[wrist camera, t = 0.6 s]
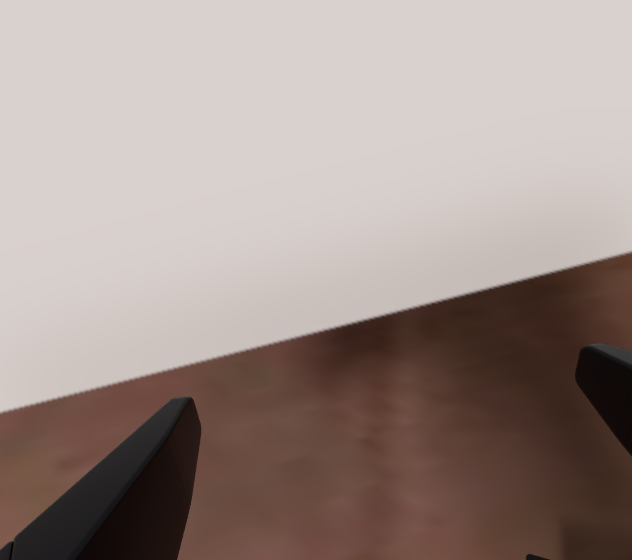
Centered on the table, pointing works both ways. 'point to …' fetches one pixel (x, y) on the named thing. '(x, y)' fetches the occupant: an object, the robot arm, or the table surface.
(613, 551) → the table surface
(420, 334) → the table surface
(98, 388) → the table surface
